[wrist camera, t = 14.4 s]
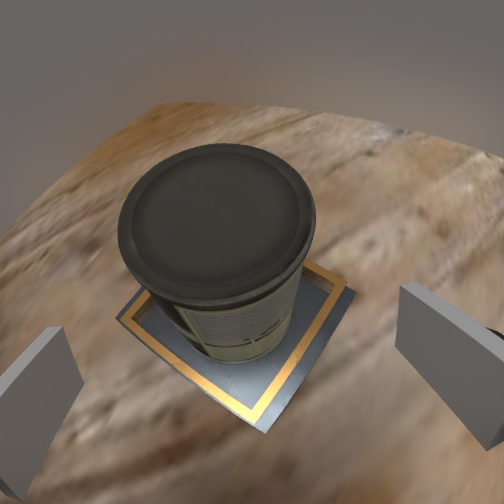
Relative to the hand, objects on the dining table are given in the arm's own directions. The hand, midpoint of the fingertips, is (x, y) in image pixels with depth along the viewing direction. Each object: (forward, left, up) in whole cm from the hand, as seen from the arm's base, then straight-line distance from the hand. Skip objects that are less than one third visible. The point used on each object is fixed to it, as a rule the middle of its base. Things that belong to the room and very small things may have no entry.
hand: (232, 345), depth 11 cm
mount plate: (-5, +5, -16) cm, 18 cm away
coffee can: (-5, +5, -16) cm, 17 cm away
